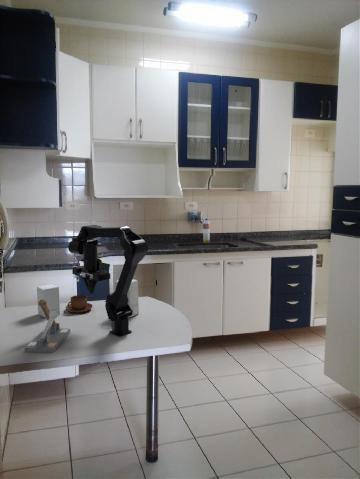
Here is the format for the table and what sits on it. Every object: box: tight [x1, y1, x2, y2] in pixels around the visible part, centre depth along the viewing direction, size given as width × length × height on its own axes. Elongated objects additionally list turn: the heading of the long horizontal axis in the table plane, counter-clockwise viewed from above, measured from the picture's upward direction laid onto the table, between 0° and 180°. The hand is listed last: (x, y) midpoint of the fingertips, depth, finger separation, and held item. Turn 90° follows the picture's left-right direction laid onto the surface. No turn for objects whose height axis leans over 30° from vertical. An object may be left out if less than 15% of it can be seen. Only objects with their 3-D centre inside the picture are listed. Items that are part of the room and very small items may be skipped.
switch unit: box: [24, 322, 71, 353], centre depth 153 cm, size 10×19×4 cm, turn 177°
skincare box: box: [114, 279, 140, 318], centre depth 183 cm, size 8×7×16 cm
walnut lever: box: [37, 299, 57, 328], centre depth 159 cm, size 3×3×13 cm
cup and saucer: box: [65, 294, 93, 314], centre depth 189 cm, size 12×12×6 cm
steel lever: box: [40, 311, 59, 342], centre depth 146 cm, size 3×3×13 cm
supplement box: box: [36, 283, 61, 319], centre depth 183 cm, size 7×7×13 cm
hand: (91, 293), depth 170 cm, fingers closed
